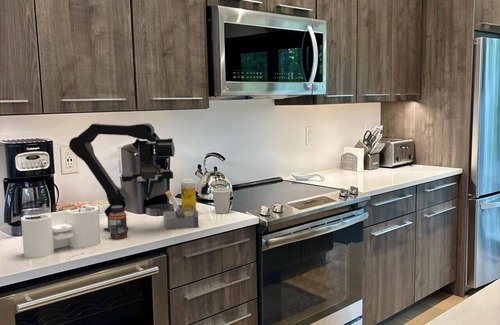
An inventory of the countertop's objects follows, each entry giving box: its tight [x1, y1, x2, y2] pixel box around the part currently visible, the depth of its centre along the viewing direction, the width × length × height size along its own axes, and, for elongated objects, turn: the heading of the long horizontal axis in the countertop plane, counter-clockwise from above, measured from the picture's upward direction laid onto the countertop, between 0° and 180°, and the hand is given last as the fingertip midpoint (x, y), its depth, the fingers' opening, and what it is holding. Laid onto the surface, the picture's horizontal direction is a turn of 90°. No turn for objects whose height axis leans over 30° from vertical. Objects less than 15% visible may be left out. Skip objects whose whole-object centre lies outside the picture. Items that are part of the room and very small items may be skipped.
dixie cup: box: [211, 187, 232, 215], centre depth 213 cm, size 8×8×10 cm
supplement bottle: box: [109, 205, 128, 240], centre depth 176 cm, size 6×6×11 cm
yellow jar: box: [180, 178, 197, 210], centre depth 210 cm, size 6×6×15 cm
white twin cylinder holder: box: [20, 205, 102, 259], centre depth 163 cm, size 25×10×12 cm, turn 133°
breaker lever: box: [165, 190, 179, 213], centre depth 192 cm, size 2×5×9 cm, turn 15°
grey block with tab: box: [162, 204, 199, 231], centre depth 193 cm, size 12×14×7 cm
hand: (148, 198), depth 186 cm, fingers closed
